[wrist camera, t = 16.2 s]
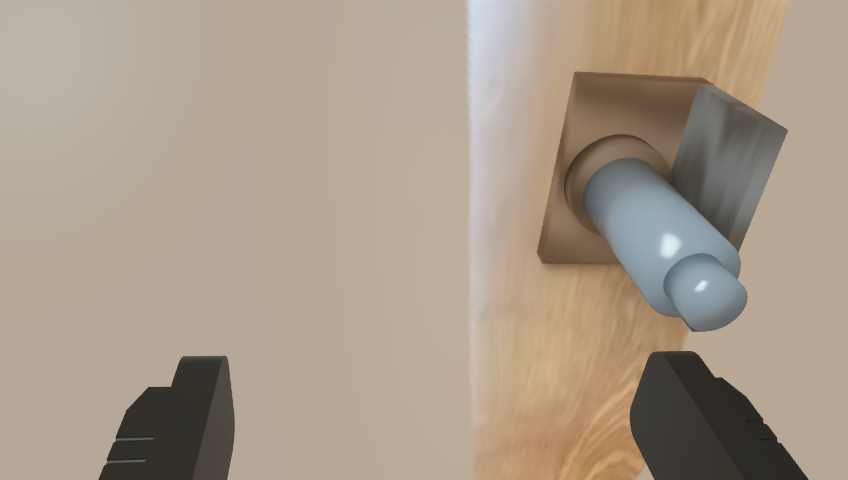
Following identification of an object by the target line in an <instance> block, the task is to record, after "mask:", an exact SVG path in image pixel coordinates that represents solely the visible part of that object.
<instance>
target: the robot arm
mask: <svg viewBox="0 0 848 480" xmlns="http://www.w3.org/2000/svg"><path fill="white" fill-rule="evenodd" d="M234 426H235V419H234V409H233V399H232V390H231V382H230V373H229V364H228V359H227V357H226V356H184V357H182V358H181V360H180V362H179V364H178V367H177V370H176V373H175V376H174V379H173V382H172V385H171V387H148V388H147V389H146V390H145V391H144V392H143V394H142V395H141V396H140V397H139V398H138V399H137V400H136V401H135V402H134V403H133V404H132V405H131V406H130V407H129V408H128V409H127V410H126V413H125V415H124V418H123V420H122V423H121V425H120V428H119V430H118V433H117V435H116V442H114V443H113V445H112V448H111V450H110V453H109V455H108V457H107V464H106V465H104V467H103V470H102V473H101V475H100V477H99V480H227V477H228V472H229V467H230V461H231V456H232V451H233V443H234V430H235V427H234ZM630 426H631V431H632V434H633V437H634V440H635V442H636V444H637V446H638V448H639V450H640V452H641V454H642V456H643V458H644V460H645V462H646V464H647V466H648V468H649V469H650V472H651V474H652V476H653V478H654V479H655V480H808V478H807V477H806V476H805V474H804V473H803V472H802V470H801V469H800V468H799V466H798V465H797V464H796V462H795V461H794V460H793V458H792V457H791V456H790V454H789V453H788V452H787V451H786V449H785V448H784V446H783V445H782V444H781V443H778V442H777V437H776V436H775V434H774V433H773V432H772V430H771V429H770V428H769V426H768V425H767V424H764V423H763V418H762V417H761V416H760V414H759V413H758V412H757V410H756V409H755V408H754V407H753V405H752V404H751V402H750V401H749V400H748V399H747V397H746V396H744V395H743V394H742V393H741V392H739V391H738V390H737V389H736V388H734V387H733V386H732V385H731V384H729V383H728V382H727V381H725V380H724V379H723V378H715V377H714V376H713V374H712V373H711V372H710V370H709V369H708V367H707V366H706V365H705V363H704V362H703V361H702V359H701V358H700V356H699V355H698V354H696V353H695V352H692V351H663V352H653V353H652V354H651V355H650V356H649V358H648V360H647V363H646V366H645V369H644V371H643V374H642V377H641V380H640V383H639V386H638V388H637V391H636V394H635V397H634V400H633V402H632V405H631V410H630Z"/></svg>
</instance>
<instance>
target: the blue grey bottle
mask: <svg viewBox="0 0 848 480" xmlns="http://www.w3.org/2000/svg"><path fill="white" fill-rule="evenodd" d="M583 206H584V210H585V212H586V214H587V215H588V217H589V218H590V220H591V221H592V222H593V224H594V225H595V227H596V228H597V230H598V231H599V232H600V234H601V235H602V237H603V238H604V240H605V241H606V243H607V244H608V245H609V247H610V248H611V250H612V251H613V253H614V254H615V256H616V257H617V258H618V260H619V261H620V263H621V264H622V266H623V267H624V268H625V270H626V271H627V273H628V274H629V276H630V277H631V279H632V280H633V281H634V283H635V284H636V286H637V287H638V289H639V290H640V292H641V293H642V294H643V296H644V297H645V299H646V300H647V302H648V303H649V304H650V306H651V307H652V308H653V309H654V310H655V311H657V312H658V313H660V314H663V315H666V316H670V317H683V318H684V320H685V321H686V322H687V324H688V325H689V326H690V327H692V328H694V329H696V330H699V331H712V330H716V329H719V328H722V327H724V326H726V325H728V324H730V323H731V322H732V321H734V320H735V319H736V318H737V317H738V316H739V315H740V314H741V313H742V311H743V310H744V308H745V306H746V303H747V292H746V289H745V288H744V286H743V285H742V284H741V283H740V282H739V281H738V280H737V279H738V276H739V273H740V267H741V265H740V264H741V262H740V257H739V254H738V252H737V250H736V249H735V248H734V246H733V245H732V244H731V243H730V242H729V241H728V240H727V239H726V238H725V237H724V236H723V235H721V234H720V233H719V232H718V231H717V230H716V229H715V228H714V227H713V226H712V225H711V224H710V223H709V222H708V221H707V220H706V219H705V218H704V217H703V216H702V215H701V214H700V213H699V212H698V211H697V210H696V209H695V208H694V207H693V206H692V205H691V204H690V203H689V202H688V201H687V200H686V199H685V198H684V197H683V196H682V195H681V194H680V193H679V192H678V191H677V190H676V189H674V188H673V187H672V186H671V185H670V184H669V183H668V182H667V181H666V180H665V179H664V178H663V177H662V176H661V175H660V174H659V173H658V172H657V171H656V170H655V169H654V168H653V167H652V166H651V165H650V164H649V163H647V162H645V161H644V160H641V159H638V158H620V159H617V160H614V161H611V162H609V163H607V164H605V165H604V166H602V167H601V168H600V169H599V170H597V171H596V172H595V173H594V174H593V176H592V177H591V178H590V180H589V181H588V183H587V185H586V187H585V190H584V194H583Z"/></svg>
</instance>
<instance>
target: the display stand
mask: <svg viewBox="0 0 848 480" xmlns="http://www.w3.org/2000/svg"><path fill="white" fill-rule="evenodd" d="M787 131H788V130H787V129H786V128H784V127H782V126H781V125H779V124H777V123H776V122H774V121H772V120H771V119H769V118H767V117H765V116H764V115H762V114H761V113H759V112H757V111H756V110H754V109H752V108H751V107H749V106H747V105H746V104H744V103H742V102H741V101H739V100H737V99H736V98H734V97H732V96H731V95H729V94H727V93H726V92H724V91H722V90H721V89H719V88H717V87H716V86H714V84H712V83H710V82H709V81H707V80H705V79H703V78H690V77H671V76H651V75H631V74H612V73H592V72H574V77H573V82H572V87H571V92H570V96H569V101H568V106H567V111H566V116H565V121H564V125H563V130H562V135H561V140H560V145H559V150H558V154H557V159H556V164H555V169H554V174H553V179H552V183H551V188H550V193H549V198H548V203H547V208H546V212H545V217H544V222H543V227H542V232H541V237H540V241H539V246H538V251H537V253H538V255H539V257H540V259H541V261H542V263H555V264H621V263H620V261H619V260H618V258H617V257H616V256H615V254H614V253H613V251H612V250H611V248H610V247H609V245H608V244H607V243H606V241H605V240H604V238H603V237H602V235H601V234H600V232H599V231H598V230H597V228H596V227H595V225H594V224H593V222H592V221H591V220H590V218H589V217H588V215H587V214H586V212H585V210H584V206H583V194H584V190H585V187H586V185H587V183H588V181H589V180H590V178H591V177H592V176H593V174H594V173H595V172H596V171H597V170H599V169H600V168H601V167H602V166H604V165H605V164H607V163H609V162H611V161H614V160H617V159H620V158H638V159H641V160H644V161H645V162H647V163H649V164H650V165H651V166H652V167H653V168H654V169H655V170H656V171H657V172H658V173H659V174H660V175H661V176H662V177H663V178H664V179H665V180H666V181H667V182H668V183H669V184H670V185H671V186H672V187H673V188H674V189H676V190H677V191H678V192H679V193H680V194H681V195H682V196H683V197H684V198H685V199H686V200H687V201H688V202H689V203H690V204H691V205H692V206H693V207H694V208H695V209H696V210H697V211H698V212H699V213H700V214H701V215H702V216H703V217H704V218H705V219H706V220H707V221H708V222H709V223H710V224H711V225H712V226H713V227H714V228H715V229H716V230H717V231H718V232H719V233H720V234H721V235H723V236H724V237H725V238H726V239H727V240H728V241H729V242H730V243H731V244H732V245H733V246H734V248H735V249H736V250H737V252H739V249H740V247H741V245H742V242H743V239H744V237H745V234H746V232H747V230H748V227H749V225H750V222H751V220H752V218H753V215H754V213H755V210H756V207H757V205H758V203H759V200H760V198H761V195H762V193H763V190H764V188H765V186H766V183H767V181H768V178H769V176H770V173H771V171H772V168H773V166H774V163H775V161H776V159H777V156H778V153H779V151H780V149H781V146H782V143H783V141H784V139H785V136H786V134H787ZM682 319H683V320H684V318H683V317H682ZM684 321H685V320H684ZM685 323H686V324H687V322H686V321H685ZM687 326H688V327H689V328H690V330H691V331H692V332H693V331H694V332H698V331H699V330H696V329H694V328H692V327H690V326H689V325H688V324H687Z"/></svg>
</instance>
